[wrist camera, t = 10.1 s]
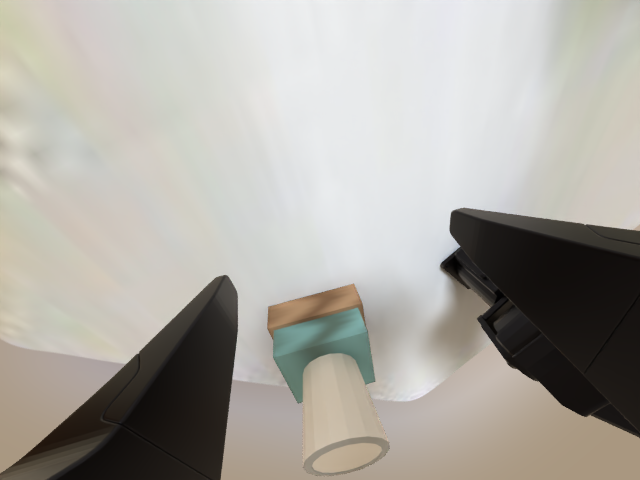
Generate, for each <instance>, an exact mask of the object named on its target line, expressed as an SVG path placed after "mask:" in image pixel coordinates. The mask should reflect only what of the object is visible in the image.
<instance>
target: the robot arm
mask: <svg viewBox="0 0 640 480" xmlns="http://www.w3.org/2000/svg"><path fill="white" fill-rule="evenodd" d="M450 233H451V235H452V236H453V238H454V239H455V240H456V241H457V243H458V244H459V245H460V246H461V247H460V248H459V249H458V250H456V251H455V252H454V253H453V254H452V255H451V256H449V257H448V258H447V259H446V260H445V261H444V262H443V263H442V264H441V266H442V267H443V268H444V269H445V270H446V271H447V272H448V273H450V274H451V275H452V276H453V277H454V278H455V279H457V280H458V281H459V282H460V283H461V284H463V285H464V286H465V287H466V288H467V289H472V290H473V291H474V292H475V293H477V294H478V295H479V296H480V297H481V298H482V299H483V300H484V301H485V302H486V303H487V304H488V305H489V306H490V307H491V308H490V309H488V310H487V311H486V312H485V313H484V314H483V315H480V316H479V317H478V318H477V320H478V321H479V323H480V324H481V325H482V326H481V327H482V328H483V330H484V331H485V332H486V334H487V335H488V337H489V338H490V339H491V341H492V342H493V343H494V345H495V346H496V348H497V349H498V351H499V352H500V353H501V355H502V356H503V358H504V359H505V360H506V362H507V364H508V365H509V366H510V367H512V368H514V369H518V370H520V371H521V372H522V373H523V374H525V375H526V376H528V377H529V378H531V379H532V380H535V381H539V382H540V383H541V384H542V385H543V386H544V387H545V388H546V389H547V390H548V391H549V392H550V393H551V394H552V395H553V396H554V397H555V398H556V399H557V400H558V401H559V403H561V404H562V405H563V406H565V407H566V408H568V409H570V410H572V411H574V412H576V413H577V414H579V415H581V416H584V417H587V416H589V415H591V416H594V417H596V418H598V419H600V420H602V421H605V422H607V423H609V424H611V425H613V426H616V427H618V428H620V429H622V430H624V431H627V432H629V433H631V434H633V435H636V436H637V437H639V438H640V231H636V230H627V229H619V228H611V227H603V226H596V225H588V224H587V225H584V224H580V223H573V222H565V221H558V220H551V219H543V218H536V217H528V216H521V215H513V214H506V213H499V212H491V211H484V210H476V209H469V208H460V209H457V210H453V211H452V212H451V217H450ZM237 332H238V295H237V291H236V289H235V287H234V285H233V283H232V282H231V280H230V278H229V277H228V276H227V275H223V276H219V277H216V278H215V279H214V280H213V281H212V282H211V283H210V284H208V285H207V286H206V287H205V288H204V289H203V290H202V291H201V292H200V293H199V294H198V295H197V296H196V297H195V298H194V299H193V300H192V301H191V302H190V303H189V304H188V305H187V306H186V307H185V308H184V309H183V310H182V311H181V312H180V313H179V314H178V315H177V316H176V317H175V318H174V319H172V320H171V321H170V322H169V323H168V324H167V325H166V326H165V327H164V328H163V329H162V330H161V331H160V332H159V333H158V334H157V335H156V336H155V337H154V338H153V339H152V340H151V341H150V342H149V343H148V344H147V345H146V346H145V347H144V348H143V349H142V350H141V351H140V352H139V354H136V355H135V356H134V357H133V358H132V359H131V360H130V361H129V362H128V363H127V364H126V365H125V366H124V367H123V368H122V369H121V370H120V371H119V372H118V373H117V374H116V375H115V376H114V377H112V378H111V379H110V380H109V381H108V382H107V383H106V384H105V385H104V386H103V387H102V388H100V389H99V390H98V391H97V392H96V393H95V394H94V395H93V396H92V397H90V398H89V399H88V400H87V401H86V402H85V403H84V404H83V405H82V406H80V407H79V408H78V409H77V410H76V411H75V412H74V413H72V414H71V415H70V416H69V417H68V418H67V419H66V420H65V421H63V422H62V423H61V424H60V425H59V426H58V427H57V428H56V429H54V430H53V431H52V432H51V433H50V434H49V435H48V436H47V437H45V438H44V439H43V440H42V441H41V442H40V443H39V444H38V445H36V446H35V447H34V448H33V449H32V450H31V451H30V452H28V453H27V454H26V455H25V456H24V457H22V458H21V459H20V460H19V461H17V462H16V463H15V464H13V465H12V466H11V467H9V468H8V469H6V470H5V471H3V472H2V473H0V480H220V479H221V469H222V462H223V453H224V445H225V435H226V427H227V419H228V411H229V410H228V409H229V402H230V393H231V384H232V376H233V368H234V359H235V351H236V342H237Z"/></svg>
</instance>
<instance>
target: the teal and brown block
mask: <svg viewBox="0 0 640 480" xmlns="http://www.w3.org/2000/svg"><path fill="white" fill-rule="evenodd" d="M267 329H268V331H269V333H270V335H271V337H272V339H273V341H274V343H273V358H274V360H275V362H276V364H277V366H278V367H279V369H280V371H281V373H282V375H283V377H284V378H285V380H286V382H287V384H288V386H289V388H290V390H291V391H292V393H293V395H294V397H295V399H296V401H297V402H298V403H301V402H303V372H304V368H305V367H306V366H307V365H308V364H309V363H310V362H311V361H313V360H314V359H316V358H318V357H320V356H324V355H327V354H334V353H342V354H346V355H350V356H351V357H352V358H353V359H355V360H356V363H357V365H358V368H359V370H360V373H361V375H362V377H363V380H364V382H365V384H368V383H372V382H375V376H374V370H373V363H372V357H371V351H370V344H369V338H368V331H367V329H366V324H365V318H364V312H363V305H362V302H361V299H360V297H359V295H358V292H357V290H356V288H355V285H354V284H351V285H348V286H344V287H340V288H337V289H333V290H329V291H325V292H322V293H318V294H314V295H311V296H307V297H303V298H300V299H296V300H292V301H288V302H285V303H281V304H277V305H274V306H270V307H268V327H267Z"/></svg>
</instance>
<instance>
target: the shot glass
mask: <svg viewBox="0 0 640 480" xmlns="http://www.w3.org/2000/svg"><path fill="white" fill-rule="evenodd" d="M389 449H390V448H389V441H388V439H387V437H386V434H385V432H384V429H383V427H382V424H381V422H380V419H379V417H378V414H377V412H376V410H375V407H374V405H373V402H372V400H371V397H370V395H369V392H368V390H367V387H366V385H365V382H364V380H363V377H362V375H361V373H360V370H359V368H358V365H357V363H356V360H355V359H353V358H352V357H351V356H350V355H346V354H342V353H334V354H327V355H324V356H320V357H318V358H316V359H314V360H313V361H311V362H310V363H309V364H308V365H307V366H306V367H305V368H304V372H303V468H304V470H305V471H306V472H307V473H309V474H312V475H316V476H334V475H340V474H346V473H350V472H353V471H356V470H360V469H363V468H365V467H367V466H369V465H371V464H373V463H375V462H377V461H378V460H379V459H381V458H382V457H384V456H385V455H386V453H387V452H388V450H389Z"/></svg>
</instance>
